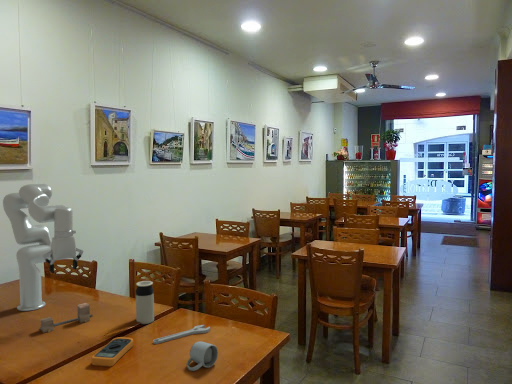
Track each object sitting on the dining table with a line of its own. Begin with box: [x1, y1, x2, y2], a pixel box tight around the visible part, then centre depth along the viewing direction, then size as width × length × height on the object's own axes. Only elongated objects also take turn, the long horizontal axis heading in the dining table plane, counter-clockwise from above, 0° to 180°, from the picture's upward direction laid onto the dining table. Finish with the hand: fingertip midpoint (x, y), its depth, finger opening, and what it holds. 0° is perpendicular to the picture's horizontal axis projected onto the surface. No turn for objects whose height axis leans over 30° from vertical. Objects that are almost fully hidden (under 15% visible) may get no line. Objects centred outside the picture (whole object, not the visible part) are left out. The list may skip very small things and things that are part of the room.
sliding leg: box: [76, 302, 91, 324], centre depth 176 cm, size 5×4×7 cm
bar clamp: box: [39, 313, 93, 334], centre depth 172 cm, size 6×22×5 cm, turn 133°
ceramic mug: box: [186, 341, 219, 372], centre depth 138 cm, size 11×8×8 cm
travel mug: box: [135, 280, 155, 325], centre depth 178 cm, size 8×8×18 cm
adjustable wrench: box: [152, 324, 211, 345], centre depth 164 cm, size 25×6×2 cm, turn 120°
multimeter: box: [91, 336, 134, 368], centre depth 146 cm, size 9×18×3 cm, turn 171°
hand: (63, 270), depth 178 cm, fingers open, 9 cm apart
